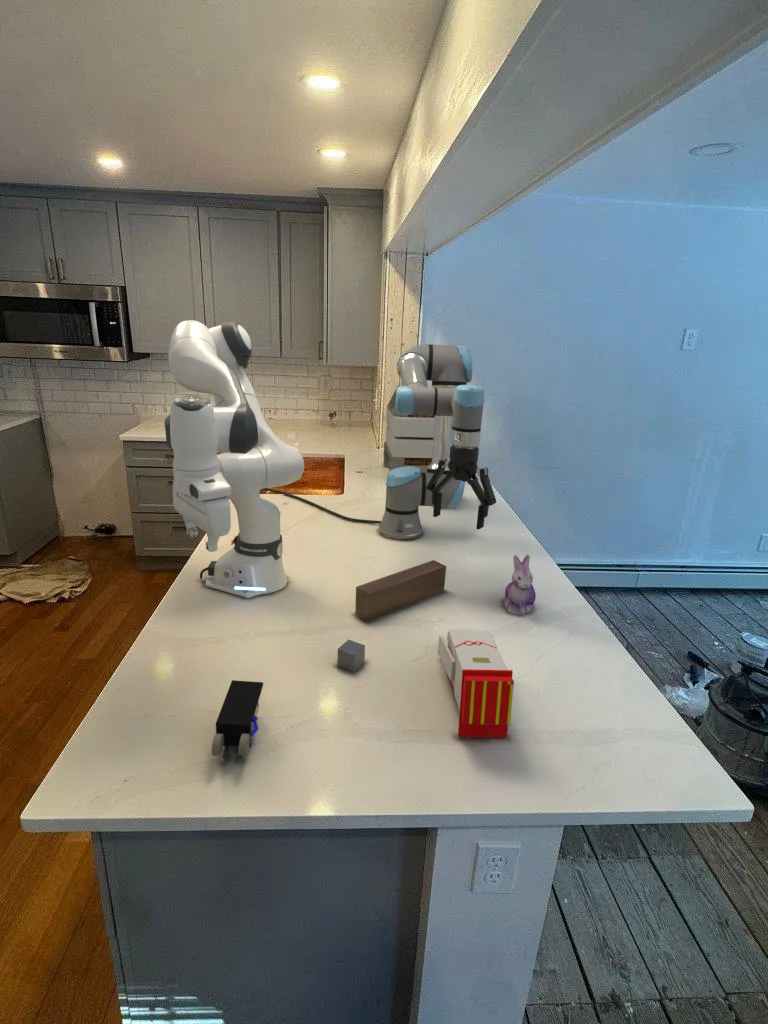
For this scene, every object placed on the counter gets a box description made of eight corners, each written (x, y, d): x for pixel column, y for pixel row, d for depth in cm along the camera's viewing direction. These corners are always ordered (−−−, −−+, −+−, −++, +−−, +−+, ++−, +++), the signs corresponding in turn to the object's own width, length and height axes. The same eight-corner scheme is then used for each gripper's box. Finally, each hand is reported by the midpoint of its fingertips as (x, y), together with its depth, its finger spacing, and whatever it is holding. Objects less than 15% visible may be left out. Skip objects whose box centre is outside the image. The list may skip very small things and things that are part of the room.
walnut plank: (355, 614, 146) (356, 586, 144) (431, 585, 164) (433, 559, 161) (367, 622, 143) (368, 594, 140) (444, 591, 160) (446, 566, 158)
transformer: (382, 463, 289) (386, 382, 275) (445, 464, 293) (451, 384, 279) (390, 482, 257) (394, 392, 243) (460, 483, 261) (468, 394, 247)
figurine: (518, 619, 147) (525, 567, 142) (493, 601, 156) (499, 551, 151) (545, 612, 151) (553, 561, 146) (520, 595, 160) (527, 546, 155)
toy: (488, 613, 130) (523, 677, 101) (484, 667, 133) (517, 744, 104) (435, 612, 130) (455, 676, 101) (432, 666, 133) (451, 743, 103)
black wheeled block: (251, 773, 97) (266, 707, 110) (248, 742, 94) (264, 678, 107) (211, 773, 97) (231, 707, 110) (207, 741, 93) (228, 677, 107)
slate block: (337, 665, 125) (337, 648, 124) (348, 656, 129) (348, 639, 127) (354, 672, 123) (354, 654, 122) (364, 662, 127) (365, 645, 125)
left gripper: (162, 469, 119) (168, 530, 123) (203, 495, 104) (208, 563, 109) (191, 465, 123) (196, 524, 127) (235, 489, 108) (238, 555, 113)
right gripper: (417, 440, 152) (412, 514, 160) (502, 456, 139) (492, 537, 146) (432, 436, 158) (426, 508, 165) (514, 451, 144) (505, 529, 151)
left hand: (202, 543), depth 118 cm, fingers open, 8 cm apart
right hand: (457, 521), depth 156 cm, fingers open, 13 cm apart
